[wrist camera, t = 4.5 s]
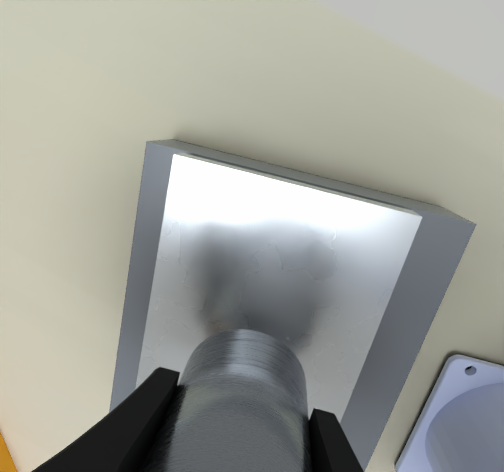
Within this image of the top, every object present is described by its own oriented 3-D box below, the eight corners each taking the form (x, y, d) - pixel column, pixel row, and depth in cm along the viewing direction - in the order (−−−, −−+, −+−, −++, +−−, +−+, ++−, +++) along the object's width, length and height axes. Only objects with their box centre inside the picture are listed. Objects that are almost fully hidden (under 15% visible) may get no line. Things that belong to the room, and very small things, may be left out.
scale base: (440, 206, 15) (480, 226, 12) (335, 461, 20) (344, 523, 16) (172, 139, 15) (143, 141, 12) (130, 405, 20) (100, 456, 17)
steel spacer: (321, 348, 11) (348, 518, 6) (288, 444, 12) (288, 650, 7) (197, 315, 11) (127, 458, 6) (176, 414, 12) (103, 597, 7)
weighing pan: (412, 210, 12) (422, 216, 11) (305, 486, 16) (306, 507, 15) (181, 152, 12) (173, 154, 11) (133, 439, 16) (124, 457, 15)
